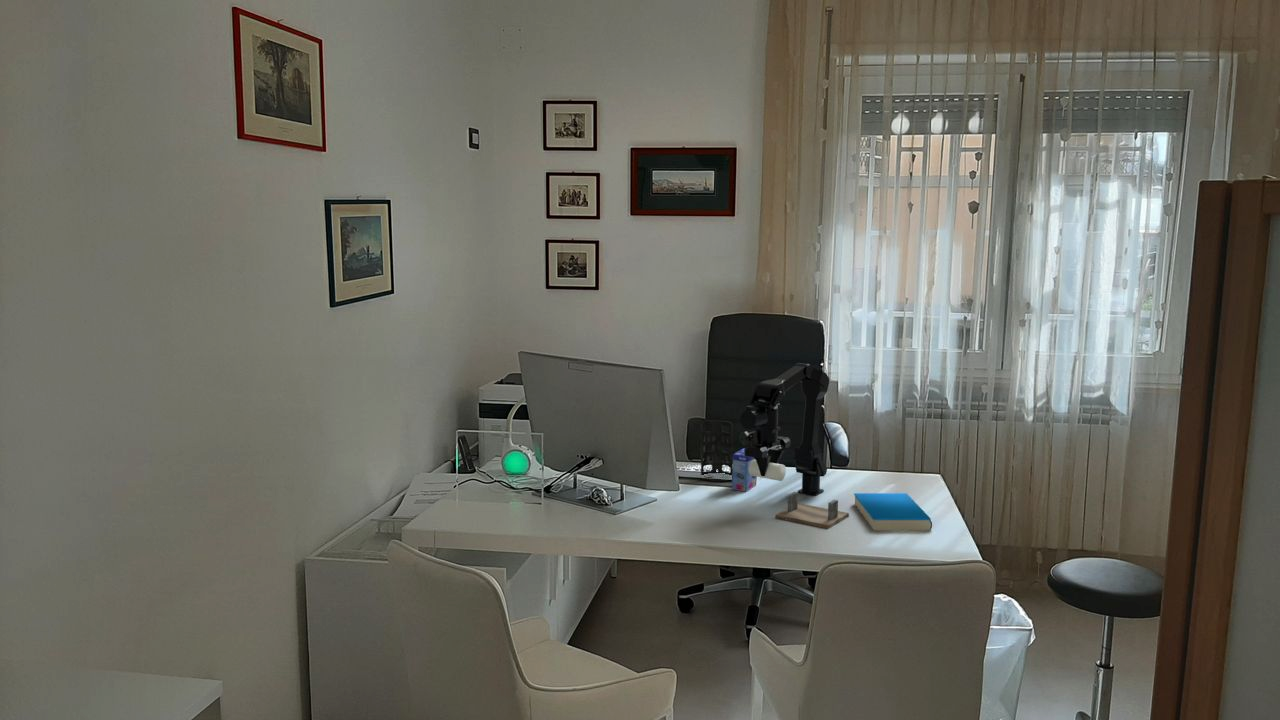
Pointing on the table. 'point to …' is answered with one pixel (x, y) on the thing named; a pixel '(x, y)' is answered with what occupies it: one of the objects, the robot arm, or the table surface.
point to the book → (892, 511)
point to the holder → (716, 447)
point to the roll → (768, 471)
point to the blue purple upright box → (742, 472)
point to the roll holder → (812, 513)
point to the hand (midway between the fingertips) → (767, 474)
